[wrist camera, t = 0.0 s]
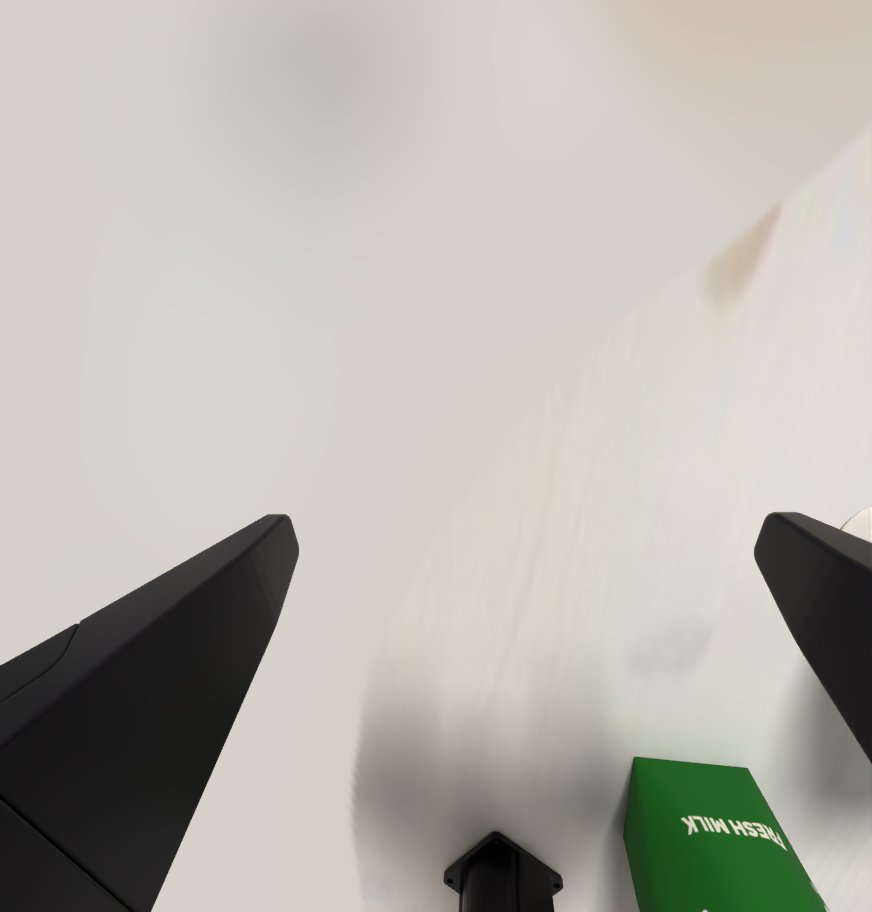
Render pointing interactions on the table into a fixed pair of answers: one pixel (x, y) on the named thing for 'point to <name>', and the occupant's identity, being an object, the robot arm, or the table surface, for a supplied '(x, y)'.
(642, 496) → the table surface
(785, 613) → the robot arm
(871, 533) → the beer glass
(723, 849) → the milk carton
